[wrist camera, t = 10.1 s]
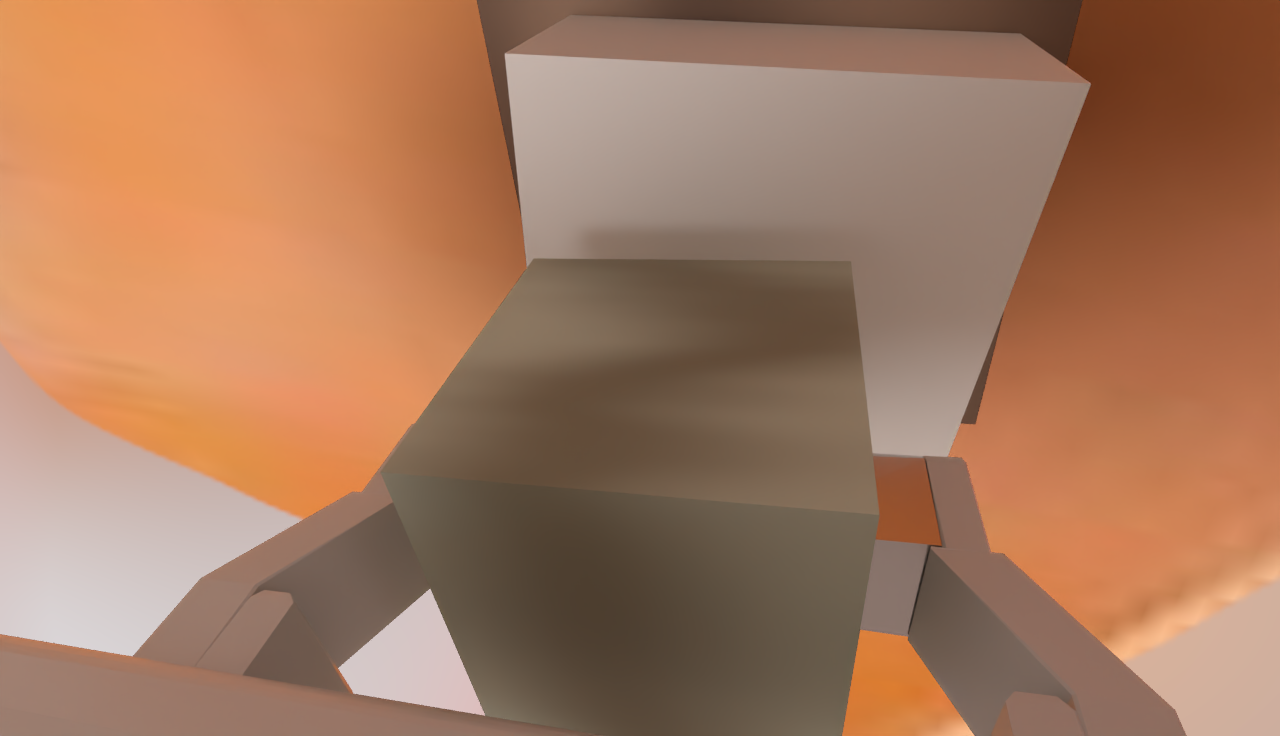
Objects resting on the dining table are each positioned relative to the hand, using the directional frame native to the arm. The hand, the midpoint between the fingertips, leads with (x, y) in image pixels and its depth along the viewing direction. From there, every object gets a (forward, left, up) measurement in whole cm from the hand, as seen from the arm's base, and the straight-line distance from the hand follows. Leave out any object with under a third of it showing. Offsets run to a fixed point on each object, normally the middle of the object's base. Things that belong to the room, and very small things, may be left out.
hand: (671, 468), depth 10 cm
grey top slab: (-1, 0, -8) cm, 8 cm away
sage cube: (0, 0, -2) cm, 2 cm away
